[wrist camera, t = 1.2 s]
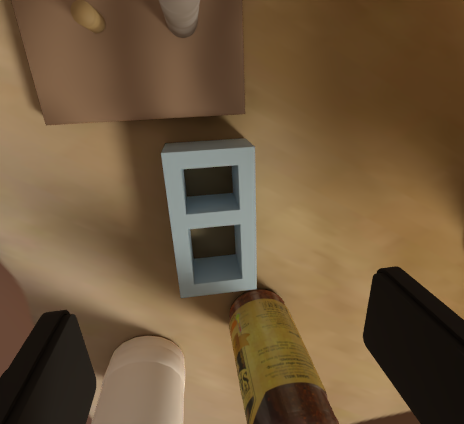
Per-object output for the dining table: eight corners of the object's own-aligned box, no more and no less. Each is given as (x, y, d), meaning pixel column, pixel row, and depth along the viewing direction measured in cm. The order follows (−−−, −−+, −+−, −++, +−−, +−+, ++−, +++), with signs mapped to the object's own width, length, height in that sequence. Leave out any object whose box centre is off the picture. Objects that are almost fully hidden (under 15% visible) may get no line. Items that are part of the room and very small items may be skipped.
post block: (235, -88, 19) (269, -216, 11) (241, 112, 23) (267, 123, 15) (-3, -91, 17) (-162, -243, 9) (55, 123, 22) (-21, 141, 14)
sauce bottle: (217, 301, 30) (259, 629, 12) (273, 276, 30) (405, 572, 11) (242, 343, 33) (309, 665, 14) (293, 320, 32) (429, 618, 14)
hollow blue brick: (248, 263, 29) (256, 289, 25) (182, 270, 28) (180, 298, 24) (244, 138, 24) (254, 146, 20) (165, 143, 23) (161, 153, 20)
